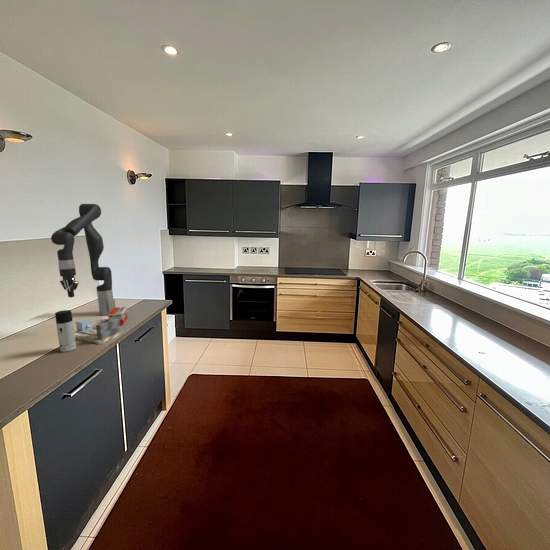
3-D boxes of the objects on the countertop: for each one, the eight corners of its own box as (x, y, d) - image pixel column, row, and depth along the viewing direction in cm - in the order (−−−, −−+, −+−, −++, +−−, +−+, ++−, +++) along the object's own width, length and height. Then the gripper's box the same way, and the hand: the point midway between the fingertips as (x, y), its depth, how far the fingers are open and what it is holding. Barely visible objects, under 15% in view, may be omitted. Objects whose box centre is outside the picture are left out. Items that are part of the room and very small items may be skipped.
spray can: (62, 347, 149) (56, 310, 145) (77, 345, 152) (72, 309, 148) (58, 353, 143) (52, 314, 139) (75, 350, 146) (69, 312, 142)
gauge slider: (87, 328, 172) (85, 318, 171) (94, 329, 170) (93, 319, 169) (69, 334, 163) (67, 324, 161) (77, 336, 160) (75, 325, 159)
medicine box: (123, 325, 181) (122, 313, 180) (109, 326, 179) (107, 314, 177) (128, 317, 195) (126, 306, 194) (114, 319, 193) (113, 307, 191)
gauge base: (93, 327, 177) (91, 312, 176) (124, 333, 168) (123, 317, 166) (66, 337, 163) (64, 321, 161) (99, 344, 153) (96, 327, 152)
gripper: (81, 267, 165) (85, 296, 169) (66, 265, 170) (70, 294, 174) (68, 269, 159) (72, 299, 162) (52, 267, 163) (57, 297, 167)
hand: (71, 296), depth 168 cm, fingers closed
